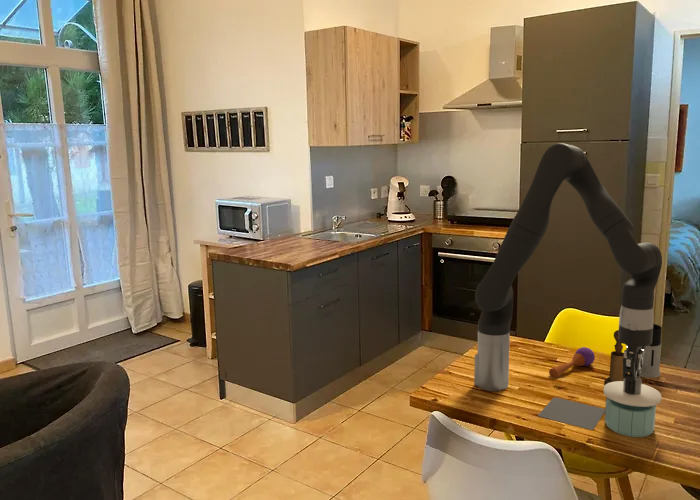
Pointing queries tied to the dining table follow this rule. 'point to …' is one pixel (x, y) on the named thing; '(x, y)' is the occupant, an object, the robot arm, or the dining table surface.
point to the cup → (630, 419)
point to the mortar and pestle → (616, 362)
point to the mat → (572, 413)
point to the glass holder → (652, 355)
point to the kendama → (575, 361)
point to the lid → (640, 398)
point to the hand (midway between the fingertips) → (631, 389)
